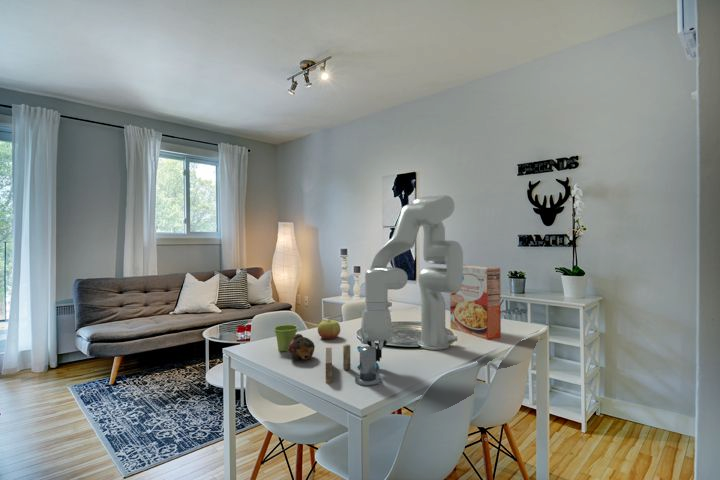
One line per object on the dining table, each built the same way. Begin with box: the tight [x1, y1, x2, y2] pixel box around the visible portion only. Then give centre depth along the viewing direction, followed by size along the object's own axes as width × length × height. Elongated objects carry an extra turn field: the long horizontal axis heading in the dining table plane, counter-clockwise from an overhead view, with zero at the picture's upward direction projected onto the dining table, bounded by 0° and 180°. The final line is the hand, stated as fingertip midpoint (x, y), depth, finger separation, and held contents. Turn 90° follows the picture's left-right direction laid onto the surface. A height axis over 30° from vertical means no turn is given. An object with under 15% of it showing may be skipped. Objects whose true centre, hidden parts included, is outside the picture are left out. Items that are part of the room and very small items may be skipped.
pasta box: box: [449, 264, 502, 341], centre depth 174 cm, size 23×8×30 cm, turn 28°
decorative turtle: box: [288, 333, 316, 362], centre depth 140 cm, size 10×15×8 cm, turn 27°
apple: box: [317, 319, 341, 340], centre depth 167 cm, size 10×10×8 cm
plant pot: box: [273, 324, 299, 352], centre depth 151 cm, size 9×9×9 cm
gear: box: [356, 345, 381, 370], centre depth 129 cm, size 11×6×10 cm
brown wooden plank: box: [325, 347, 333, 384], centre depth 125 cm, size 2×16×6 cm, turn 5°
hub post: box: [354, 345, 382, 387], centre depth 118 cm, size 8×8×10 cm
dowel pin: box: [342, 343, 352, 371], centre depth 128 cm, size 2×2×8 cm
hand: (377, 360), depth 129 cm, fingers closed
